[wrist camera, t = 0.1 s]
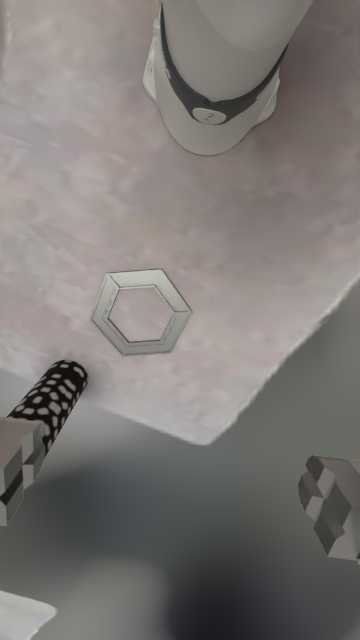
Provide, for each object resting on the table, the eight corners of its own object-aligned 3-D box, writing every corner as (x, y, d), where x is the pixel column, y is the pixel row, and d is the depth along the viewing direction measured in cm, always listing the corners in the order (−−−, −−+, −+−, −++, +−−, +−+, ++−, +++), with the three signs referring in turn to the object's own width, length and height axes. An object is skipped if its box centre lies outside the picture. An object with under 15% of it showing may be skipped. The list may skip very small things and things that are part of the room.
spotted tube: (48, 357, 51) (-26, 435, 33) (88, 363, 52) (37, 443, 33) (50, 388, 54) (-18, 476, 36) (87, 394, 55) (40, 483, 36)
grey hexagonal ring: (145, 244, 43) (144, 245, 42) (205, 330, 49) (205, 331, 48) (73, 298, 46) (71, 299, 46) (137, 370, 53) (137, 373, 52)
